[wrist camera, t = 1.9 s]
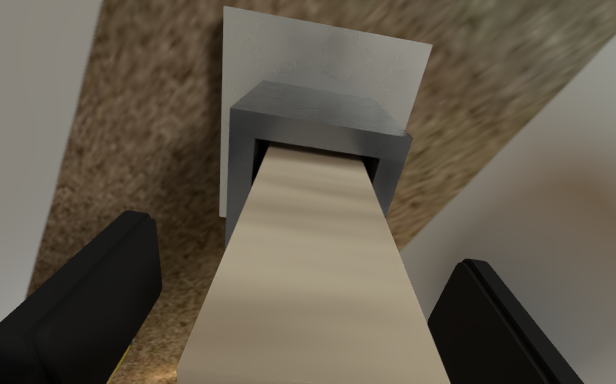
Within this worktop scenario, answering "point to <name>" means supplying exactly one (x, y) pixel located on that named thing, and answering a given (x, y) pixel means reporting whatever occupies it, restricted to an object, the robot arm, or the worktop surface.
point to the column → (311, 286)
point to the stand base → (313, 99)
